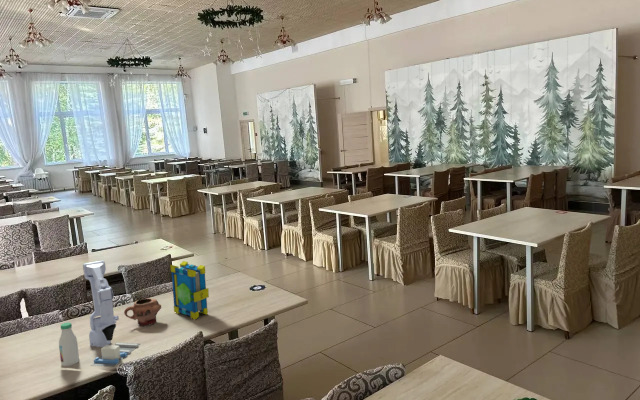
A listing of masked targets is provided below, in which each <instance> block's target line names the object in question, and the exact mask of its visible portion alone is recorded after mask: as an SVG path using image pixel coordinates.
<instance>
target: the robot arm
mask: <svg viewBox="0 0 640 400" xmlns="http://www.w3.org/2000/svg"><path fill="white" fill-rule="evenodd" d="M82 270H83V275H84V279H85V280H88V281H89V284H90V288H91V294H92V302H93V309H94V311H93V312H92V313H90V315H89V326H90V329H91V330H90V331H89V334H88V337H89V339H88V340H89V347H97V348H103V347H104V346H105V345H111V344H112V341H113V338H114V332H115V329H116V327H117V321H119V320H120V319H119V315H115V314H114V305H113V304H114V303H113V299H114V292H113V291H114V290H113V288H112V287H111V286H110V285H109V282H108V280H107V278H104V276H105V273H106V271H107V269H106V262H105V261H104V259H102V260H98V261H90V262H84V263H83V264H82Z"/></svg>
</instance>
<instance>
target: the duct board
mask: <svg viewBox="0 0 640 400" xmlns="http://www.w3.org/2000/svg"><path fill="white" fill-rule="evenodd" d="M114 345H115V346H119V348H120V358H119V359H118V358H116V359H115V360H110V359H102V356H97V357H95V358H94V359H93V363H92V364H90V366H94V367H107V368H108V367H111V368H113V367H116V366H117V365H118V364H119V363H121V361H123V359H125V358H126V357H127V356H128V355H130V354H131V353H132V352H133V351H135V349H137V348H138V347H139V346H140V345H141V343H132V342H131V343H129V342H116V343H115V344H114Z"/></svg>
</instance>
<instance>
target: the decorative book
mask: <svg viewBox="0 0 640 400" xmlns="http://www.w3.org/2000/svg"><path fill="white" fill-rule="evenodd" d="M170 273H171V282H172V284H171V285H172V295H173V296H172V297H173V312H176V313H178V314H177V315H180V314H183V315H186V316H189V317H190V319H191V318H193V319H192V320H194V319H196V320H197V319H198V318H199V317H200V314H204V315H207V313H208V310H209V309H208V301H207V299H208V298H210V295H209V288H208V287H207V286H206V266H205V265H203V264H199V265H198V266H196V264H195V265H194V264H191V263H190V264H189V262H188V261H185V260H183V261H182V262H180V264H179V266H177V265H173V264H170ZM176 313H175V314H176ZM208 314H209V313H208Z"/></svg>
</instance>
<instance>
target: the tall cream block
mask: <svg viewBox="0 0 640 400" xmlns="http://www.w3.org/2000/svg"><path fill="white" fill-rule="evenodd" d="M100 351H101V353H100V354H101V357H102V359H110V360H115V359H116V358H118V359H119V358H120V348H119V346H115V344H114V345H113V344H109V345H105V346H104V347H100Z"/></svg>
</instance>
